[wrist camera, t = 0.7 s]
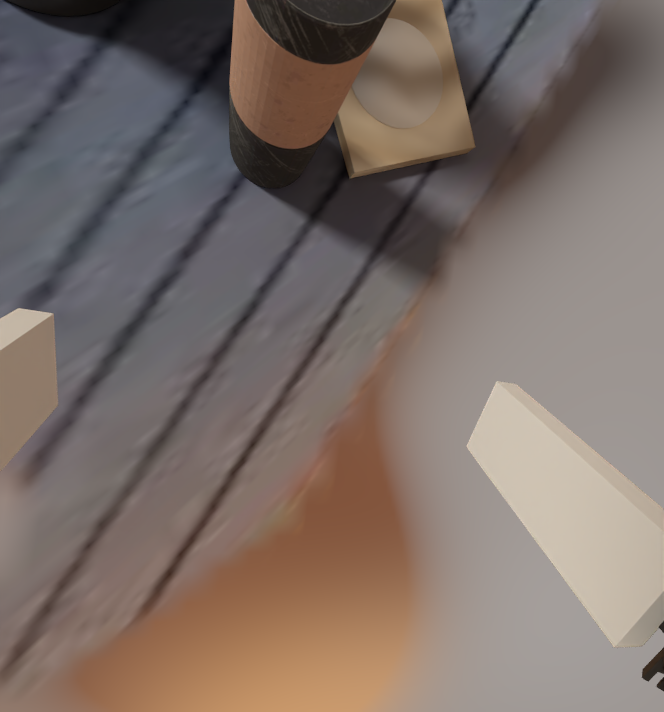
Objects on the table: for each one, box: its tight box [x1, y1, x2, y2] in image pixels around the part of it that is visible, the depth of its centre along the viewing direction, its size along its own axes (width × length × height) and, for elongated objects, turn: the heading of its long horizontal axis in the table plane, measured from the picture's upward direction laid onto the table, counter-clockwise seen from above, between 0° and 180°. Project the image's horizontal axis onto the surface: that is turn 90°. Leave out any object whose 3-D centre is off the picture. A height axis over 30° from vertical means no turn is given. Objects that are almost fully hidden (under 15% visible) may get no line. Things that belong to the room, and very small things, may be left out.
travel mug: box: [229, 0, 396, 188], centre depth 26 cm, size 8×8×20 cm
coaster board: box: [334, 0, 475, 178], centre depth 38 cm, size 16×14×2 cm
